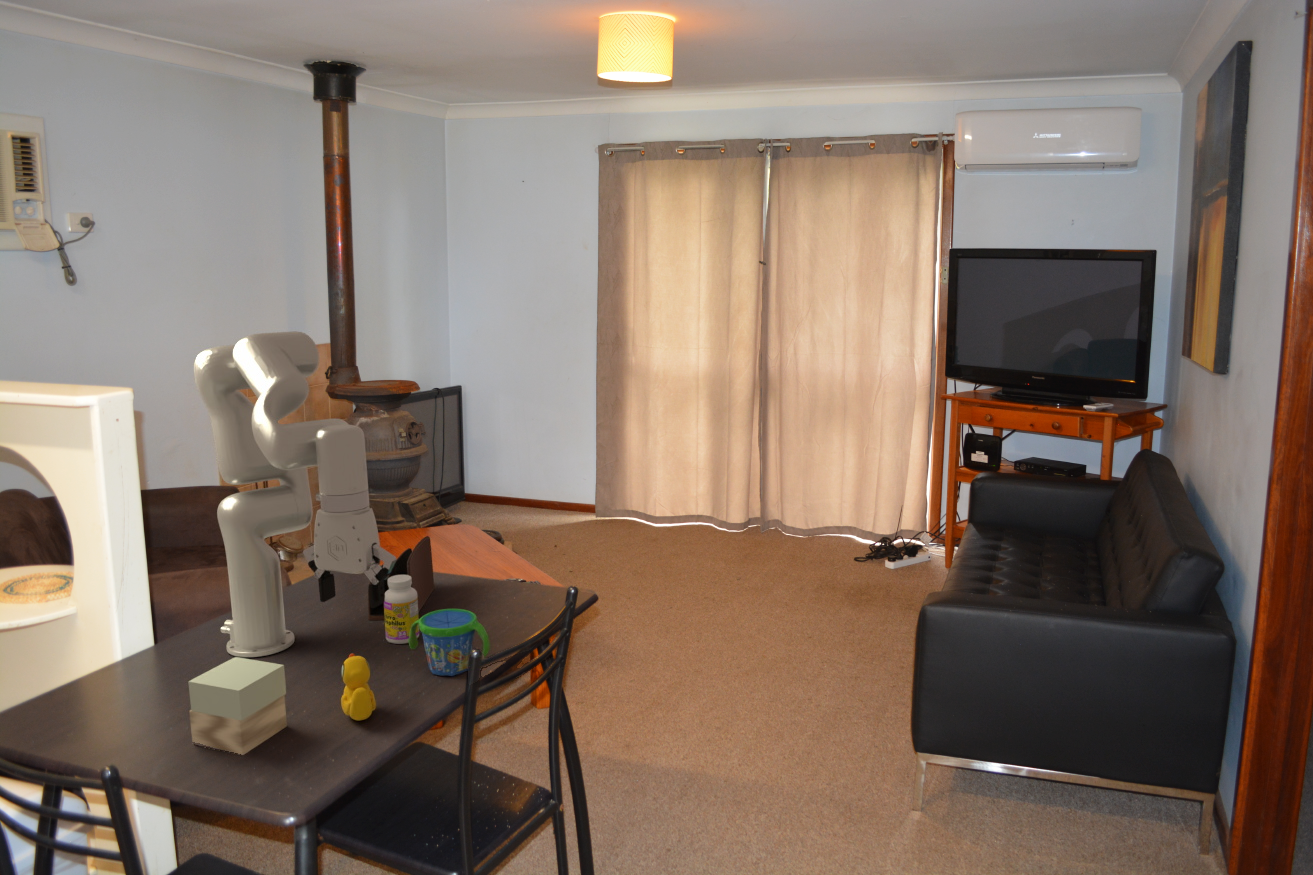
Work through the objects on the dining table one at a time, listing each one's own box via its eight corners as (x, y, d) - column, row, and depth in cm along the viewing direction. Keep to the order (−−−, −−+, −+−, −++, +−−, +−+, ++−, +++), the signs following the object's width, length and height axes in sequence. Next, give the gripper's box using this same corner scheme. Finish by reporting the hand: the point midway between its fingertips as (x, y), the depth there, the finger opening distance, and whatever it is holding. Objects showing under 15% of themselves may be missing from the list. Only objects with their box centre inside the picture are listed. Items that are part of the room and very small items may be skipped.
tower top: (191, 710, 154) (188, 681, 153) (237, 684, 163) (235, 656, 162) (241, 720, 150) (238, 690, 149) (286, 693, 159) (283, 664, 158)
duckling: (338, 703, 168) (334, 649, 167) (370, 697, 171) (366, 644, 169) (346, 732, 158) (342, 675, 156) (380, 725, 160) (376, 669, 159)
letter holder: (434, 589, 226) (431, 531, 224) (414, 620, 207) (411, 557, 204) (392, 589, 226) (388, 531, 224) (367, 621, 207) (363, 557, 204)
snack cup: (500, 664, 184) (499, 613, 182) (471, 687, 174) (468, 633, 173) (431, 652, 190) (428, 603, 188) (398, 674, 180) (395, 622, 178)
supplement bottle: (378, 642, 195) (375, 581, 193) (399, 630, 201) (395, 571, 199) (406, 646, 193) (402, 585, 190) (426, 634, 199) (423, 575, 196)
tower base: (192, 745, 155) (189, 710, 154) (238, 717, 164) (235, 684, 163) (243, 755, 151) (239, 720, 150) (287, 726, 161) (284, 693, 159)
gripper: (285, 503, 157) (294, 604, 160) (376, 510, 151) (383, 615, 154) (315, 493, 164) (323, 590, 167) (403, 499, 158) (410, 599, 161)
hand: (352, 602), depth 160 cm, fingers open, 9 cm apart
